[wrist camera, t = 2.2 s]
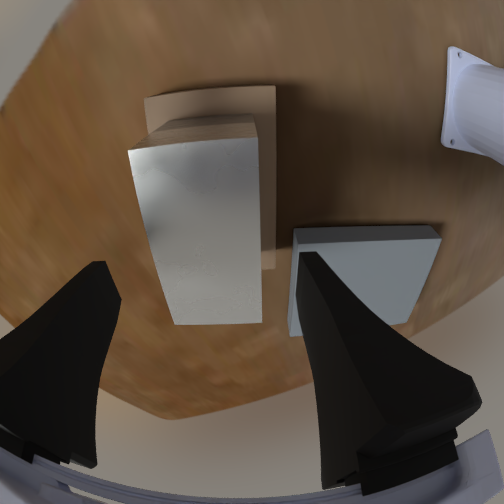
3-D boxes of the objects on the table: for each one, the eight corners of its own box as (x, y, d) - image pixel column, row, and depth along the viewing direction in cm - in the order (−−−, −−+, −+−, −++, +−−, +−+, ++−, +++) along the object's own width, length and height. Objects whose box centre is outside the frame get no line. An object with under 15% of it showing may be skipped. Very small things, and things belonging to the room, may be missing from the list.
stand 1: (271, 84, 14) (275, 86, 13) (272, 252, 21) (275, 268, 20) (154, 95, 14) (143, 98, 13) (180, 256, 21) (176, 272, 20)
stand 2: (430, 225, 20) (441, 238, 19) (399, 308, 26) (406, 322, 25) (293, 228, 20) (298, 244, 19) (287, 319, 26) (289, 336, 24)
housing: (252, 113, 14) (257, 137, 9) (256, 252, 19) (261, 322, 14) (168, 120, 14) (128, 150, 9) (189, 255, 19) (174, 324, 14)
